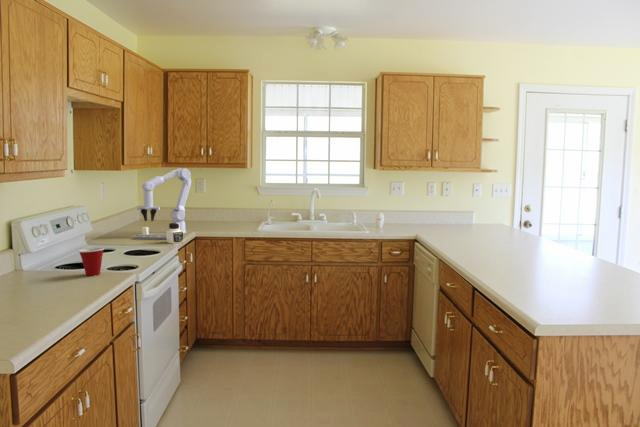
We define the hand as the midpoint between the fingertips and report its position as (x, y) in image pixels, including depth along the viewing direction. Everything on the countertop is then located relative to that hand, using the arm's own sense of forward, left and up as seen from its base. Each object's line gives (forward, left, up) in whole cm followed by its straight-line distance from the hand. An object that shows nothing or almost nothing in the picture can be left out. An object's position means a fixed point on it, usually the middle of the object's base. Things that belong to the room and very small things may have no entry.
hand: (149, 220), depth 332 cm
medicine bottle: (+18, +24, -11) cm, 32 cm away
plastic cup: (+101, +18, -11) cm, 103 cm away
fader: (+4, -1, -9) cm, 10 cm away
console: (+4, +5, -10) cm, 12 cm away
